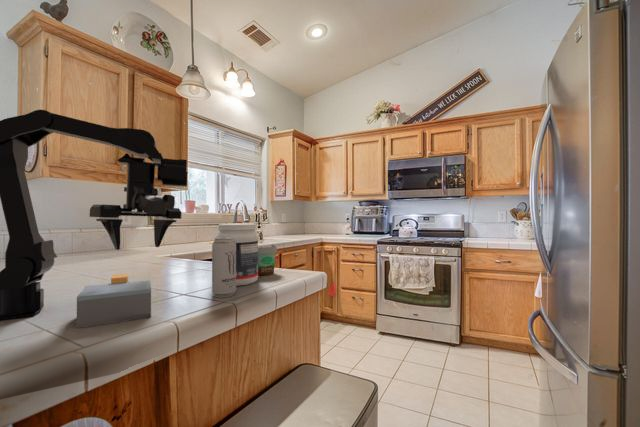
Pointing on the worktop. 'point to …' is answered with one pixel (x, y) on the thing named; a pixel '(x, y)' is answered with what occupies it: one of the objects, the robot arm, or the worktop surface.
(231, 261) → the energy drink can
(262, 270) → the food container
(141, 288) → the lid
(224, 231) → the supplement tub
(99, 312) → the parts tub
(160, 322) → the worktop surface
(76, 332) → the worktop surface
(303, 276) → the worktop surface
